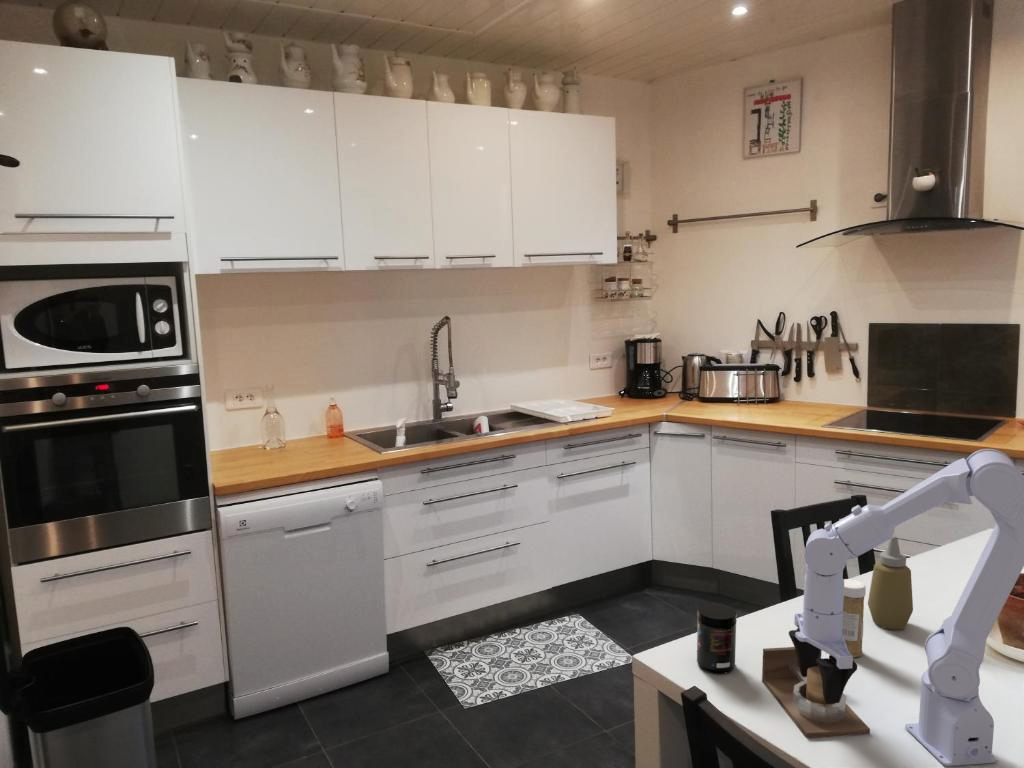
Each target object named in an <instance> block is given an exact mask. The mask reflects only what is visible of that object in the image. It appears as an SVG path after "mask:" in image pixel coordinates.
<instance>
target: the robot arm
mask: <svg viewBox="0 0 1024 768" xmlns="http://www.w3.org/2000/svg"><path fill="white" fill-rule="evenodd" d="M971 497H975V499H976V500H977V501H978V502H979V503H980V504H982V506H984V507H985V508H986V509H987V510H989V513H990V514H991V516H992V517H993V518H994V521H995V526H994V528H993V529H992V531H991V534H990V536H989V538H988V540H987V541H986V544H985V546H984V547H983V549H982V552H981V554H980V556H979V559H978V561H977V562H976V564H975V566H974V569H973V570H972V573H971V575H970V576H969V578H968V580H967V583H966V585H965V586H964V588H963V590H962V593H961V595H960V597H959V598H958V601H957V603H956V605H955V607H954V609H953V611H952V613H951V615H950V616H948V617H946V618H945V619H944V620H943V622H942V624H941V625H940V627H939V628H938V629H937V630H934V632H932V633H930V634H929V635H928V636H927V638H926V639H925V642H924V651H925V654H926V655H925V656H926V659H927V667H928V668H927V669H926V670H925V671H924V672H923V673H922V675H921V681H920V683H921V685H920V700H919V701H920V702H919V714H918V715H919V716H918V722H916V723H915V722H914V723H905V725H904V726H905V729H906V730H907V731H908V732H909V733H910V734H911V735H912V736H913V737H914V738H915V739H917V741H919V743H921V745H922V746H924V747H925V748H926V749H927V751H928V752H930V754H932V755H933V756H934V757H935V758H936V759H937V760H938V761H939V762H940V763H941V764H942V765H944V766H946V767H951V766H968V765H980V764H994V763H995V764H996V763H997V762H998V759H997V757H995V756H994V755H993V754H992V753H993V746H994V745H993V743H994V742H993V741H994V728H995V722H994V718H993V716H992V715H991V713H990V712H989V710H987V709H986V707H985V706H984V704H983V703H982V701H981V698H980V693H979V690H980V689H979V688H980V683H981V678H980V667H981V665H982V664H983V661H984V658H985V657H984V656H985V651H986V644H987V640H988V638H989V636H990V633H991V631H992V629H993V627H994V625H995V623H996V622H997V620H998V618H999V615H1001V612H1002V609H1003V608H1004V606H1005V605H1006V602H1007V601H1008V598H1009V597H1010V595H1011V592H1012V590H1013V589H1014V587H1015V584H1016V583H1017V581H1018V579H1019V577H1020V574H1021V573H1022V571H1023V569H1024V475H1023V473H1022V472H1021V471H1020V469H1019V468H1018V467H1017V465H1016V464H1015V462H1014V461H1013V460H1012V459H1011V458H1010V456H1009V455H1008V454H1006V453H1004V452H1003V451H1000V450H998V449H995V448H982V449H979V450H976V451H975V452H973V453H971V454H970V455H969V456H968V457H967V458H966V459H965V457H963V458H960V459H957V460H955V461H953V462H952V463H950V464H948V465H946V467H944V468H942V469H939V470H938V471H937V472H935V473H934V474H932V475H930V476H929V477H927V478H926V479H924V480H922V481H921V482H918V483H917V484H916V485H914V486H912V487H911V488H909V489H907V490H906V491H904V492H903V493H902V494H900V495H899V496H897V497H895V498H894V499H892V500H890V501H889V502H886V504H884V505H874V504H866V505H864V506H862V507H861V505H859V504H857V505H856V506H853V507H852V508H851V513H849V515H846V516H845V517H843V518H841V519H839V520H838V521H836V522H834V523H833V524H832V523H831V522H828V523H826V524H824V526H823V527H824V528H819V529H816V530H814V531H813V532H811V533H810V535H809V536H808V539H807V540H806V545H805V549H804V552H803V553H804V560H805V563H806V564H805V569H804V570H805V573H806V574H805V575H804V581H803V582H804V585H803V609H802V610H803V612H802V613H800V612H799V613H794V626H795V627H797V628H796V629H792V630H789V631H788V636H789V638H790V639H791V642H792V645H793V647H795V650H796V653H797V658H798V663H799V668H800V672H801V675H802V676H803V677H807V670H808V668H810V667H817V666H818V667H819V670H820V673H821V677H822V684H823V696H824V700H825V702H826V703H827V704H829V703H839V702H840V699H841V696H842V694H843V693H844V690H845V689H846V686H847V683H848V681H849V680H850V678H851V677H852V676H853V675H854V674H855V672H857V670H858V663H856V662H855V660H854V657H853V656H852V655H851V654H850V653H849V651H848V648H847V646H846V643H845V640H844V637H843V635H842V625H843V603H844V578H843V577H844V576H843V575H844V569H845V568H846V564H847V561H848V560H851V559H852V560H853V559H856V558H857V557H860V556H861V555H864V554H865V553H867V552H870V551H871V550H872V549H875V548H876V547H878V546H880V545H882V544H884V543H885V542H887V541H890V539H891V538H892V537H893V536H894V534H895V528H896V526H898V525H901V524H902V523H905V522H906V521H909V520H911V519H913V518H915V517H918V516H919V515H921V514H924V513H925V512H927V511H930V510H932V509H933V508H935V507H938V506H940V505H941V504H944V503H946V502H951V503H956V504H957V503H958V504H966V505H973V502H972V500H971ZM820 650H822V651H821V652H824V653H825V654H828V657H827V658H821V659H819V654H820Z"/></svg>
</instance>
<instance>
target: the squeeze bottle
mask: <svg viewBox="0 0 1024 768" xmlns="http://www.w3.org/2000/svg"><path fill="white" fill-rule="evenodd" d="M872 571H873V572H872V576H871V582H870V588H869V595H868V600H867V605H868V609H869V612H870V616H871V619H872V622H873V623H874V624H875V625H876V626H878V627H880V628H884V629H887V630H897V631H898V630H899V631H900V630H903V629H905V628H906V627H907V625H908V623H909V620H910V618H911V616H912V614H913V612H914V602H913V601H914V600H913V586H912V584H913V583H912V570H911V569H910V567H908V565H907V556H906V555H905V554H903V553H901V550H900V545H899V540H898V537H897V536H894V535H893V537H892V538H891V539H889V540H888V545H887V547H886V550H885V551H881V552H880V553H879V561H877V562H876V563H875V564H873V570H872Z"/></svg>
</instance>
